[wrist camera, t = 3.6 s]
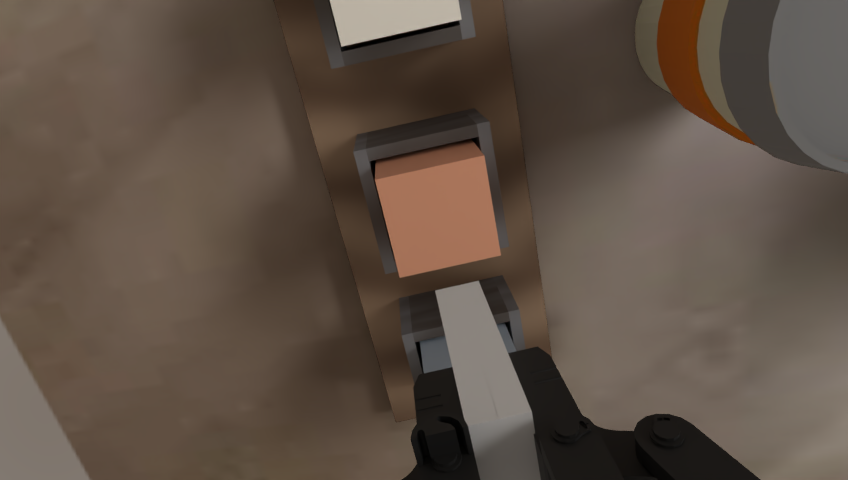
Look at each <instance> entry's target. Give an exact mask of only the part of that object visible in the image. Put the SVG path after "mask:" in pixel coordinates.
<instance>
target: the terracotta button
mask: <svg viewBox="0 0 848 480" xmlns="http://www.w3.org/2000/svg"><path fill="white" fill-rule="evenodd" d="M375 182H376V186H377V190H378V194H379V198H380V202H381V206H382V210H383V214H384V218H385V222H386V226H387V230H388V234H389V237H390V241H391V245H392V249H393V253H394V257H395V261H396V265H397V269H398V273H399V277H400V278H401V277H406V276H410V275H415V274H419V273H424V272H428V271H433V270H437V269H442V268H446V267H451V266H455V265H460V264H464V263H469V262H473V261H478V260H482V259H487V258H491V257H496V256H500V255H501V252H500V246H499V240H498V234H497V228H496V222H495V216H494V210H493V204H492V198H491V192H490V186H489V180H488V174H487V168H486V162H485V156H484V154H483V153H482V152H481V151H480V149H479V148H478V147H477V146H476V144H475V143H474V142H473V141H472V139H466V140H462V141H457V142H453V143H448V144H444V145H439V146H435V147H431V148H426V149H422V150H417V151H413V152H408V153H404V154H399V155H395V156H390V157H386V158H381V159H377V160H376V164H375Z"/></svg>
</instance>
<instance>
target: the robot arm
mask: <svg viewBox="0 0 848 480" xmlns="http://www.w3.org/2000/svg"><path fill="white" fill-rule="evenodd" d="M435 292H436V297H437V301H438V306H439V310H440V315H441V319H442V323H443V328H444V332H445V337H446V341H447V346H448V350H449V354H450V359H451V363H452V367H450V368H446V369H441V370H437V371H432V372H428V373H424V374H419V375H418V378H417V380H416V382H415V384H414V387H413V391H414V400H415V410H416V420H417V425H416V426H415V428H414V429H413V431H412V435H411V442H412V446H413V449H414V453H415V457H416V460H417V465H416V466H415V468H414V469H413V471H412V472H411V473H410V474H409V475H408V476H406V477H405V478H403V479H402V480H760V479H759V478H758V477H756V476H755V475H754V474H753V473H752V472H750V471H749V470H748V469H747V468H745V467H744V466H743V465H742V464H740V463H739V462H738V461H737V460H736V459H734V458H733V457H732V456H731V455H729V454H728V453H727V452H726V451H724V450H723V449H722V448H721V447H719V446H718V445H717V444H716V443H715V442H713V441H712V440H711V439H710V438H708V437H707V436H706V435H705V434H703V433H702V432H701V431H700V430H699V429H697V428H696V427H695V426H694V425H692V424H691V423H689V422H688V421H686V420H684V419H683V418H681V417H677V416H673V415H670V414H654V415H650V416H647V417H645V418H643V419H642V420H640V421H639V422H638V423H637V425H636V427H635V429H634V431H615V430H607V429H604V428H600V427H597V426H595V425H594V424H593V423H592V422H591V421H590V420H589V419H588V418H586V417H584V416H583V415H582V414H581V412H580V410H579V409H578V407H577V405H576V403H575V401H574V399H573V397H572V395H571V394H570V392H569V390H568V388H567V386H566V384H565V382H564V380H563V379H562V377H561V375H560V373H559V371H558V369H557V368H556V365H555V364H554V362H553V360H552V358H551V356H550V355H549V354H548V353H546V352H545V351H543V350H542V349H541V348H539V347H538V346H537V347H533V348H529V349H524V350H520V351H515V352H511V353H508V352H507V349H506V347H505V345H504V342H503V340H502V337H501V335H500V332H499V330H498V327H497V325H496V322H495V320H494V317H493V315H492V313H491V310H490V308H489V305H488V303H487V300H486V298H485V295H484V293H483V290H482V288H481V286H480V283H479V281H475V282H471V283H466V284H462V285H458V286H453V287H449V288H444V289H440V290H436V291H435Z"/></svg>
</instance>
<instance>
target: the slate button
mask: <svg viewBox="0 0 848 480" xmlns="http://www.w3.org/2000/svg"><path fill="white" fill-rule="evenodd" d="M496 325H497V327H498V330H499V332H500V335H501V337H502V340H503V342H504V345H505V347H506V349H507V352H508V353H511V352H515V351H516V349H515V346H514V344H513V342H512V339H511V337H510V334H509V332H508V330H507V327H506V325H505V323H500V324H496ZM420 347H421V355H422V363H423V371H424V373H428V372H432V371H437V370H441V369H446V368H450V367H452V363H451V359H450V354H449V350H448V346H447V341H446V337H445V336H441V337H436V338H432V339H427V340H423V341H420Z"/></svg>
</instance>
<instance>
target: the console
mask: <svg viewBox="0 0 848 480" xmlns="http://www.w3.org/2000/svg"><path fill="white" fill-rule="evenodd" d="M274 3H275V6H276V10H277V13H278V17H279V20H280V24H281V27H282V31H283V34H284V38H285V41H286V44H287V48H288V51H289V55H290V58H291V62H292V65H293V69H294V72H295V76H296V79H297V82H298V86H299V89H300V93H301V96H302V100H303V103H304V107H305V110H306V114H307V117H308V120H309V124H310V127H311V131H312V134H313V138H314V141H315V145H316V148H317V152H318V155H319V158H320V162H321V165H322V169H323V172H324V176H325V179H326V183H327V186H328V190H329V193H330V196H331V200H332V203H333V207H334V210H335V214H336V217H337V221H338V224H339V228H340V231H341V234H342V238H343V241H344V245H345V248H346V252H347V255H348V259H349V262H350V266H351V269H352V272H353V276H354V279H355V283H356V286H357V290H358V293H359V297H360V300H361V304H362V307H363V310H364V314H365V317H366V321H367V324H368V328H369V331H370V335H371V338H372V342H373V345H374V348H375V352H376V355H377V359H378V362H379V366H380V369H381V373H382V376H383V380H384V383H385V386H386V390H387V393H388V397H389V400H390V404H391V407H392V411H393V414H394V418H395V421H396V422H400V421H405V420H409V419H414V418H416V410H415V400H414V391H413V387H414V384H415V382H416V380H417V378H418V375H419V374H424V371H423V363H422V355H421V347H420V341H423V340H427V339H432V338H436V337H441V336H445V332H444V328H443V323H442V319H441V315H440V310H439V306H438V301H437V297H436V292H435V291H436V290H440V289H444V288H449V287H453V286H458V285H462V284H466V283H471V282H475V281H479V283H480V286H481V288H482V290H483V293H484V295H485V298H486V300H487V303H488V305H489V308H490V310H491V313H492V315H493V317H494V320H495V322H496V324H500V323H505V325H506V327H507V330H508V332H509V334H510V337H511V339H512V342H513V344H514V346H515V349H516V351H520V350H524V349H529V348H533V347H537V346H538V347H539V348H541V349H542V350H543V351H545V352H546V353H548V354H549V355H550V356H551V358H552V355H551V348H550V341H549V333H548V326H547V319H546V312H545V304H544V297H543V290H542V283H541V275H540V268H539V261H538V254H537V246H536V239H535V232H534V225H533V217H532V210H531V203H530V196H529V188H528V181H527V174H526V166H525V159H524V152H523V145H522V137H521V130H520V123H519V116H518V108H517V101H516V94H515V87H514V79H513V72H512V65H511V58H510V50H509V43H508V36H507V28H506V21H505V14H504V7H503V0H459V6H460V12H461V18H462V20H457V21H453V22H448V23H444V24H440V25H435V26H431V27H426V28H422V29H417V30H413V31H408V32H404V33H400V34H395V35H391V36H386V37H382V38H377V39H373V40H369V41H364V42H360V43H355V44H351V45H346V46H342V47H341V43H340V39H339V35H338V31H337V27H336V23H335V19H334V15H333V11H332V7H331V3H330V0H274ZM466 139H472V141H473V142H474V143H475V144H476V146H477V147H478V148H479V149H480V151H481V152H482V153H483V154H484V156H485V162H486V168H487V174H488V180H489V186H490V192H491V198H492V204H493V210H494V216H495V222H496V228H497V234H498V240H499V246H500V252H501V255H500V256H496V257H491V258H487V259H482V260H478V261H473V262H469V263H464V264H460V265H455V266H451V267H446V268H442V269H437V270H433V271H428V272H424V273H419V274H415V275H410V276H406V277H401V278H400V277H399V273H398V269H397V265H396V261H395V257H394V253H393V249H392V245H391V241H390V237H389V234H388V230H387V226H386V222H385V218H384V214H383V210H382V206H381V202H380V198H379V194H378V190H377V186H376V182H375V164H376V160H377V159H381V158H386V157H390V156H395V155H399V154H404V153H408V152H413V151H417V150H422V149H426V148H431V147H435V146H439V145H444V144H448V143H453V142H457V141H462V140H466Z"/></svg>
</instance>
